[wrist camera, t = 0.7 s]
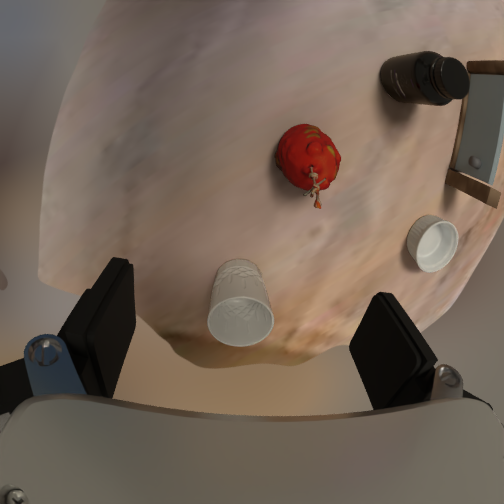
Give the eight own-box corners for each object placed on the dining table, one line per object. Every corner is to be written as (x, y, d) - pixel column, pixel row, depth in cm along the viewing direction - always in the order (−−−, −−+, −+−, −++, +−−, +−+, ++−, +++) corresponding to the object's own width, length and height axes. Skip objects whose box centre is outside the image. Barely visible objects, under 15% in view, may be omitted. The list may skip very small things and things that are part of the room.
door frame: (466, 57, 27) (523, 57, 15) (477, 66, 27) (533, 68, 16) (444, 182, 37) (500, 212, 25) (456, 187, 37) (510, 216, 26)
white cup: (222, 305, 44) (221, 352, 35) (203, 263, 41) (196, 307, 32) (271, 291, 44) (280, 337, 35) (256, 247, 40) (263, 288, 31)
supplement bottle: (371, 83, 30) (423, 77, 19) (390, 48, 28) (444, 34, 17) (407, 113, 32) (464, 120, 21) (425, 78, 29) (482, 77, 19)
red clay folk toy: (333, 171, 36) (388, 209, 22) (284, 189, 36) (314, 237, 23) (315, 117, 32) (368, 122, 19) (263, 135, 33) (284, 149, 20)
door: (464, 70, 27) (499, 70, 20) (475, 77, 28) (509, 79, 21) (448, 166, 35) (482, 180, 28) (459, 171, 35) (492, 185, 28)
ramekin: (406, 268, 44) (419, 281, 40) (399, 223, 40) (413, 235, 36) (445, 247, 42) (459, 259, 39) (441, 203, 39) (456, 212, 35)
